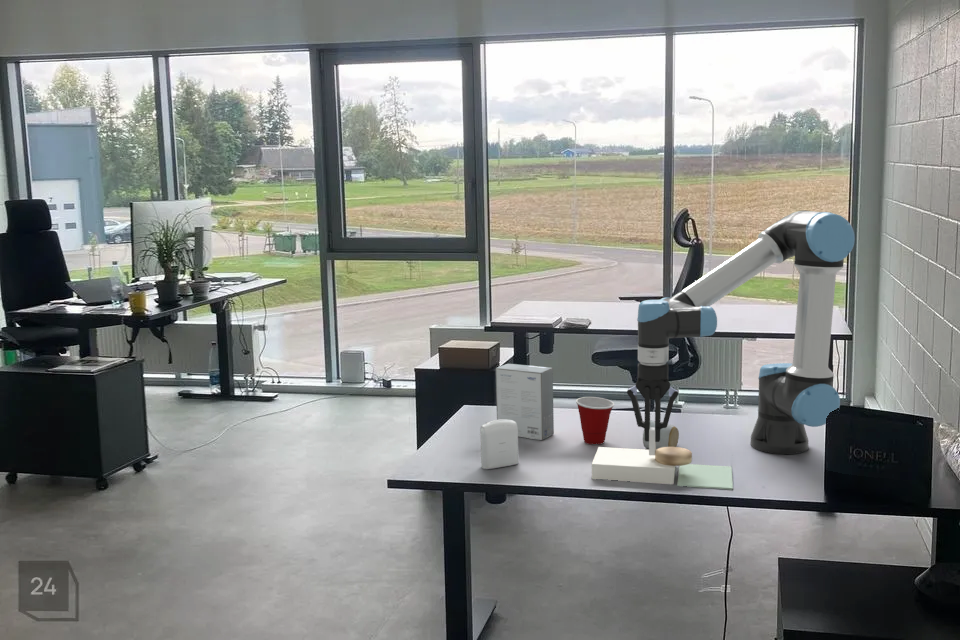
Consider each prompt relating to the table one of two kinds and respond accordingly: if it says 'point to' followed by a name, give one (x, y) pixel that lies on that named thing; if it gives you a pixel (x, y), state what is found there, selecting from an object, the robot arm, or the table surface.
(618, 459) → the block
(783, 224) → the robot arm
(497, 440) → the photo printer
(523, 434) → the hard drive box
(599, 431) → the plastic cup
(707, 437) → the table surface
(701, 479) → the sage mat
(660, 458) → the cork coaster
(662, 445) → the ceramic mug
